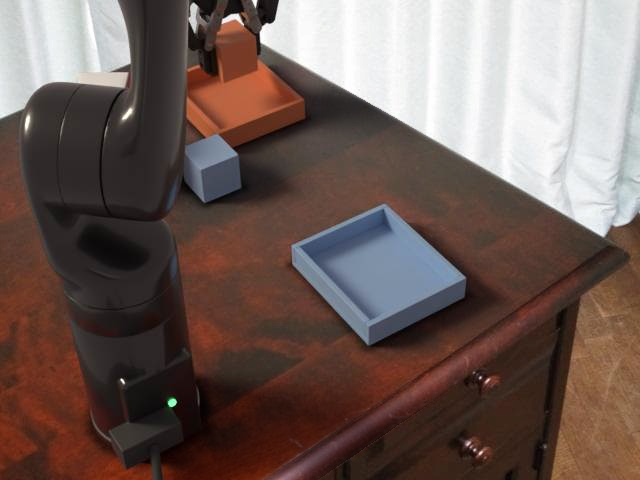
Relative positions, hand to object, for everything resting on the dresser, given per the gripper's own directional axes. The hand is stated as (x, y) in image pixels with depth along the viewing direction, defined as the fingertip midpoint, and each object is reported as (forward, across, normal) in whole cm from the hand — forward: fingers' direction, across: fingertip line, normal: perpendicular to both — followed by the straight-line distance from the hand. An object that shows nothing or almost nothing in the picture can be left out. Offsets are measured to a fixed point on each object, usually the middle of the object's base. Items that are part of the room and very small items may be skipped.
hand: (231, 65), depth 130 cm
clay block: (0, 0, 0) cm, 0 cm away
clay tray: (+6, 0, 0) cm, 6 cm away
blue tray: (+6, -3, -33) cm, 34 cm away
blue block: (+6, -9, -11) cm, 15 cm away
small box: (+6, -17, -3) cm, 18 cm away
